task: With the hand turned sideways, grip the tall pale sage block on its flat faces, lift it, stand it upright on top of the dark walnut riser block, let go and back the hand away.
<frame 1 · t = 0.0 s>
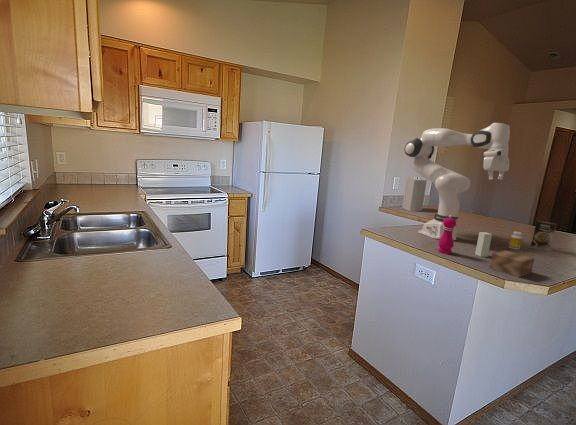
hand: (495, 179, 171), 39 cm above the counter, tool pointing down, fingers open, 8 cm apart
walnut riser block: (510, 270, 145), on the counter
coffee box: (540, 249, 187), on the counter
sage block: (481, 255, 165), on the counter
paper bag: (413, 209, 294), on the counter
pepper mill: (444, 252, 166), on the counter
supplement bottle: (513, 248, 184), on the counter
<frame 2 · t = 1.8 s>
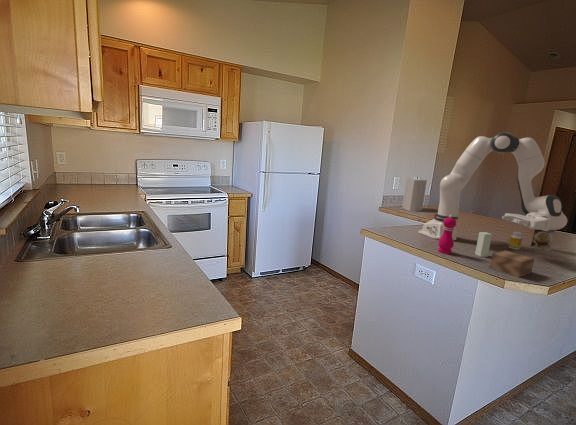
hand: (510, 219, 163), 20 cm above the counter, tool horizontal, fingers open, 8 cm apart
nothing on the counter moved.
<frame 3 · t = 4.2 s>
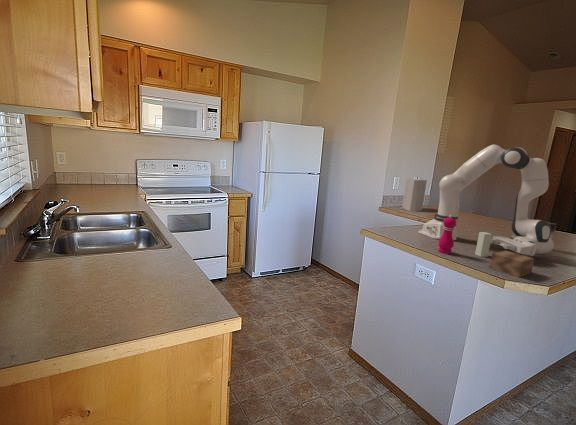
hand: (497, 244, 165), 6 cm above the counter, tool horizontal, fingers open, 8 cm apart
nothing on the counter moved.
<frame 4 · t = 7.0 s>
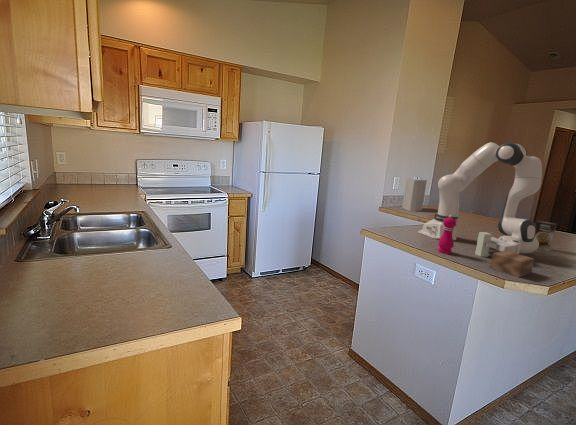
hand: (481, 243, 164), 7 cm above the counter, tool horizontal, fingers closed on sage block, 4 cm apart
sage block: (481, 255, 165), on the counter, touching gripper
everything else where it was.
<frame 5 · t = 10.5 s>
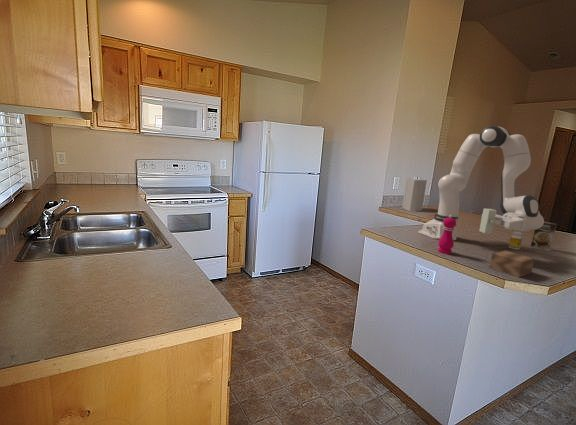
hand: (486, 219, 161), 19 cm above the counter, tool horizontal, fingers closed on sage block, 4 cm apart
sage block: (485, 232, 163), point 12 cm above the counter, touching gripper
everything else where it was.
when the fingers open (15 cm above the counter, at t = 14.4 s): sage block drops 1 cm, resting on walnut riser block.
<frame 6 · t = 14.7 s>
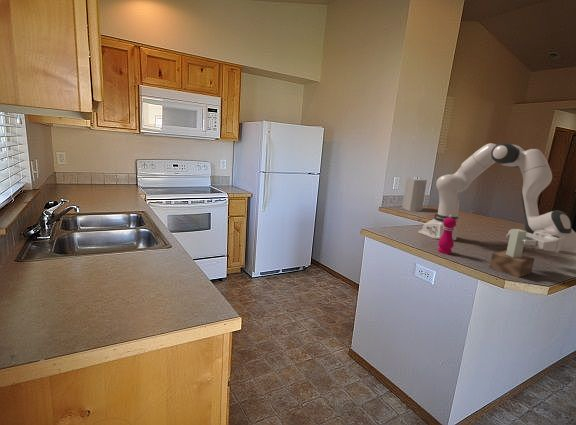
hand: (515, 238, 142), 15 cm above the counter, tool horizontal, fingers open, 7 cm apart
sage block: (513, 255, 144), point 7 cm above the counter, touching walnut riser block
everything else where it was.
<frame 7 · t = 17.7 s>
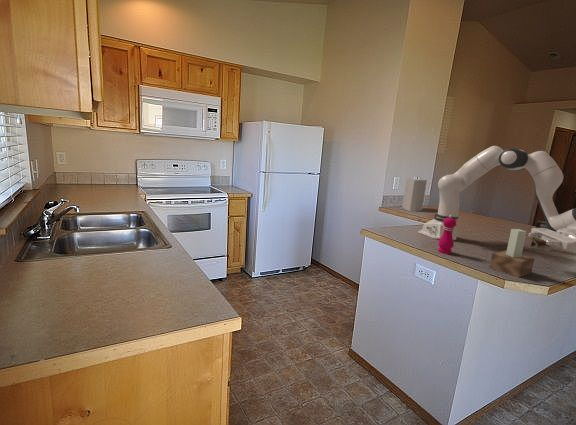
hand: (538, 238, 145), 15 cm above the counter, tool horizontal, fingers open, 8 cm apart
nothing on the counter moved.
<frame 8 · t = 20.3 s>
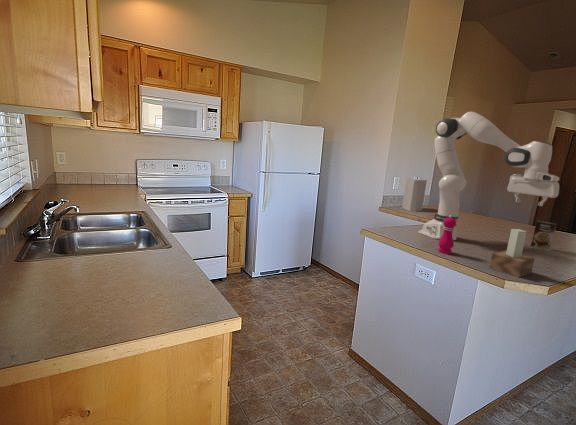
hand: (528, 204, 155), 29 cm above the counter, tool pointing down, fingers open, 8 cm apart
nothing on the counter moved.
at the end: sage block inside the target area on the walnut riser block (0.0 cm from its centre), point 7.0 cm above the walnut riser block's base; sage block tilted 0°; the gripper is holding nothing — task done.
